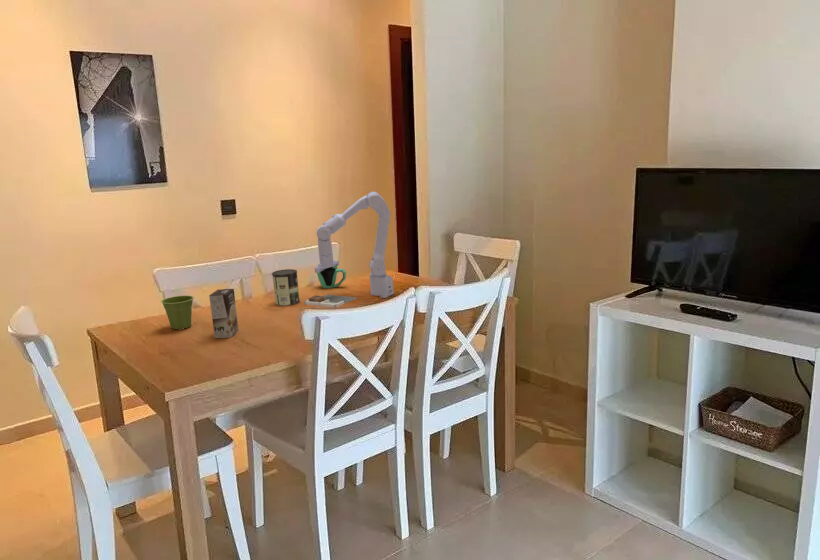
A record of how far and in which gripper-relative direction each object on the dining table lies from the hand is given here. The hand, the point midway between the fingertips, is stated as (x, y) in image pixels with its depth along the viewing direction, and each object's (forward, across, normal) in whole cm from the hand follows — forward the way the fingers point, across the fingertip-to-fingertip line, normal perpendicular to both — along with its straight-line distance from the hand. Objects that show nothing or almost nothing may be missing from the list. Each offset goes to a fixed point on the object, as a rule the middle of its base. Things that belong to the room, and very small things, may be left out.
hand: (329, 285), depth 272 cm
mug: (+6, -16, -10) cm, 20 cm away
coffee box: (+6, +52, -8) cm, 53 cm away
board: (+6, +4, +4) cm, 8 cm away
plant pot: (+6, +52, -32) cm, 62 cm away
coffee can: (+6, +12, -13) cm, 19 cm away
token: (+5, +9, 0) cm, 10 cm away
